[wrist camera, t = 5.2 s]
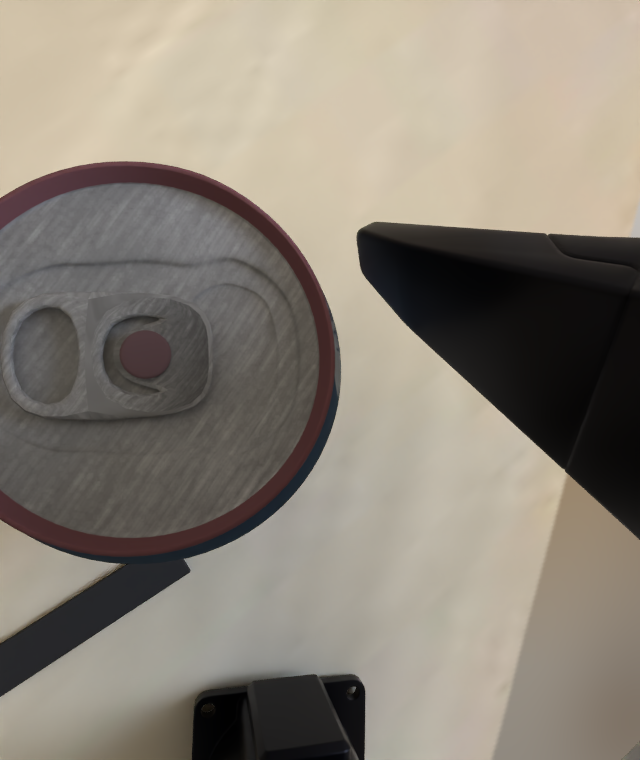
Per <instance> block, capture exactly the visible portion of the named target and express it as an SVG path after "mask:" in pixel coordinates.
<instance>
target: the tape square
mask: <svg viewBox="0 0 640 760" xmlns="http://www.w3.org/2000/svg"><path fill="white" fill-rule="evenodd" d="M189 572H190V569H189V567H188V566H187V564H186V562H185V561H184V559H180V560H175V561H169V562H162V563H151V564H126V565H125V566H123V567H121V568H120V569H118V570H117V571H115V572H113V573H112V574H110V575H109V576H107V577H106V578H104V579H102V580H101V581H99V582H98V583H96V584H94V585H93V586H91V587H90V588H88V589H87V590H85V591H83V592H82V593H80V594H79V595H77V596H75V597H74V598H72V599H71V600H69V601H67V602H66V603H64V604H63V605H61V606H60V607H58V608H56V609H55V610H53V611H52V612H50V613H48V614H47V615H45V616H44V617H42V618H41V619H39V620H37V621H36V622H34V623H33V624H31V625H29V626H28V627H26V628H25V629H23V630H22V631H20V632H18V633H17V634H15V635H14V636H12V637H10V638H9V639H7V640H6V641H4V642H2V643H1V644H0V697H1V696H2V695H4V694H5V693H7V692H8V691H10V690H11V689H13V688H14V687H16V686H17V685H19V684H20V683H22V682H23V681H25V680H27V679H28V678H30V677H31V676H33V675H34V674H36V673H37V672H39V671H40V670H42V669H43V668H45V667H46V666H48V665H49V664H51V663H52V662H54V661H55V660H57V659H58V658H60V657H61V656H63V655H65V654H66V653H68V652H69V651H71V650H72V649H74V648H75V647H77V646H78V645H80V644H81V643H83V642H84V641H86V640H87V639H89V638H90V637H92V636H93V635H95V634H96V633H98V632H99V631H101V630H103V629H104V628H106V627H107V626H109V625H110V624H112V623H113V622H115V621H116V620H118V619H119V618H121V617H122V616H124V615H125V614H127V613H128V612H130V611H131V610H133V609H134V608H136V607H137V606H139V605H141V604H142V603H144V602H145V601H147V600H148V599H150V598H151V597H153V596H154V595H156V594H157V593H159V592H160V591H162V590H163V589H165V588H166V587H168V586H169V585H171V584H172V583H174V582H175V581H177V580H179V579H180V578H182V577H183V576H185V575H186V574H188V573H189Z"/></svg>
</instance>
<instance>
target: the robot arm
mask: <svg viewBox="0 0 640 760" xmlns="http://www.w3.org/2000/svg"><path fill="white" fill-rule="evenodd" d="M357 246H358V254H359V261H360V267H361V271H362V273H363V275H364V276H365V278H366V279H367V280H368V281H369V282H370V284H371V285H372V286H373V287H374V288H375V289H376V291H377V292H378V293H379V294H380V295H381V296H382V298H383V299H384V300H385V301H386V302H387V303H388V305H389V306H390V307H391V308H392V309H393V310H394V312H395V313H396V314H397V315H398V316H399V317H400V319H401V320H402V321H403V322H404V323H405V324H406V325H407V326H408V327H409V328H410V329H411V330H412V331H413V332H414V333H415V334H416V335H418V336H419V337H420V338H421V339H422V340H423V341H424V342H425V343H426V344H427V345H428V346H430V347H431V348H432V349H433V350H434V351H435V352H436V353H437V354H438V355H439V356H440V357H441V358H443V359H444V360H445V361H446V362H447V363H448V364H449V365H450V366H451V367H452V368H453V369H455V370H456V371H457V372H458V373H459V374H460V375H461V376H462V377H463V378H464V379H465V380H467V381H468V382H469V383H470V384H471V385H472V386H473V387H474V388H475V389H476V390H477V391H479V392H480V393H481V394H482V395H483V396H484V397H485V398H486V399H487V400H488V401H489V402H491V403H492V404H493V405H494V406H495V407H496V408H497V409H498V410H499V411H500V412H501V413H503V414H504V415H505V416H506V417H507V418H508V419H509V420H510V421H511V422H512V423H513V424H515V425H516V426H517V427H518V428H519V429H520V430H521V431H522V432H523V433H524V434H525V435H526V436H528V437H529V438H530V439H531V440H532V441H533V442H534V443H535V444H536V445H537V446H538V447H540V448H541V449H542V450H543V451H544V452H545V453H546V454H547V455H548V456H549V457H550V458H552V459H553V460H554V461H555V462H556V463H557V464H558V465H559V466H560V467H561V468H563V469H565V472H566V473H567V474H569V475H570V476H571V477H572V478H573V479H574V480H575V481H576V482H577V483H578V484H579V485H581V486H582V487H583V488H584V489H585V490H586V491H587V492H588V493H589V494H590V495H591V496H593V497H594V498H595V499H596V500H597V501H598V502H599V503H600V504H601V505H602V506H604V507H605V508H606V509H607V510H608V511H609V512H610V513H612V515H613V516H614V517H615V518H617V519H618V520H619V521H620V522H621V523H622V524H623V525H625V527H626V528H628V529H629V530H630V531H631V532H632V533H633V534H634V535H635V536H636V537H637V538H639V540H640V238H629V237H596V236H577V235H561V234H549V235H548V236H547V235H546V234H545V233H531V232H517V231H502V230H488V229H473V228H459V227H444V226H430V225H415V224H401V223H386V222H374V223H371V224H369V225H367V226H365V227H363V228H361V229H360V230H359V231H358V232H357ZM353 686H354V687H356V690H355V691H354V693H352V694H347V691H348V689H349V688H350V687H353ZM208 703H209V704H213V705H214V708H213V709H212V710H211V711H209V712H205V711H203V710H202V707H203V706H204V705H205V704H208ZM364 752H365V687H364V685H363V684H362V682H361V680H360V679H359V677H357V676H356V675H341V676H332V677H323V678H319V677H318V676H317V675H315V674H313V675H303V676H294V677H285V678H276V679H267V680H258V681H253V682H252V683H251V684H250V685H249V686H242V687H233V688H224V689H215V690H208V691H205V692H202V693H201V694H200V695H199V696H198V697H197V699H196V700H195V704H194V719H193V744H192V760H364ZM622 760H640V742H639V743H638V744H637V745H636V746H635V747H634V748H633V749H632V750H631V751H630V752H629V753H628V754H627V755H626V756H625V757H624V758H623V759H622Z"/></svg>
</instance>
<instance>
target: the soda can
mask: <svg viewBox="0 0 640 760" xmlns="http://www.w3.org/2000/svg"><path fill="white" fill-rule="evenodd" d="M340 382H341V360H340V348H339V342H338V336H337V331H336V327H335V323H334V320H333V317H332V313H331V310H330V308H329V305H328V303H327V300H326V297H325V295H324V293H323V291H322V289H321V287H320V285H319V283H318V281H317V278H316V276H315V274H314V272H313V270H312V269H311V267H310V265H309V264H308V262H307V260H306V259H305V257H304V256H303V254H302V253H301V251H300V250H299V248H298V247H297V246H296V244H295V243H294V242H293V241H292V239H291V238H290V237H289V236H288V235H287V233H286V232H285V231H284V230H283V229H282V228H281V227H280V226H279V225H278V224H277V223H276V222H275V221H274V220H273V219H272V218H271V217H270V216H269V215H267V214H266V213H265V212H264V211H263V210H261V209H260V208H259V207H258V206H257V205H255V204H254V203H253V202H251V201H250V200H248V199H247V198H246V197H244V196H243V195H241V194H239V193H238V192H236V191H235V190H233V189H231V188H229V187H228V186H226V185H224V184H222V183H220V182H218V181H216V180H213V179H211V178H209V177H207V176H204V175H201V174H198V173H195V172H193V171H190V170H186V169H182V168H178V167H174V166H168V165H162V164H155V163H146V162H128V161H125V162H103V163H93V164H87V165H81V166H76V167H72V168H68V169H64V170H60V171H57V172H54V173H51V174H48V175H45V176H42V177H40V178H38V179H35V180H33V181H30V182H28V183H26V184H24V185H22V186H20V187H18V188H16V189H15V190H13V191H11V192H10V193H8V194H6V195H5V196H3V197H1V198H0V520H2V521H4V522H5V523H7V524H8V525H10V526H11V527H13V528H15V529H17V530H19V531H21V532H23V533H24V534H26V535H28V536H30V537H32V538H33V539H35V540H37V541H39V542H41V543H43V544H45V545H48V546H50V547H52V548H55V549H57V550H60V551H63V552H66V553H69V554H72V555H75V556H78V557H82V558H87V559H91V560H96V561H102V562H108V563H120V564H151V563H162V562H169V561H175V560H180V559H184V558H189V557H192V556H196V555H199V554H202V553H206V552H208V551H211V550H214V549H216V548H219V547H221V546H223V545H225V544H228V543H230V542H232V541H234V540H236V539H238V538H239V537H241V536H243V535H245V534H246V533H248V532H250V531H251V530H253V529H254V528H256V527H257V526H259V525H260V524H261V523H263V522H264V521H265V520H267V519H268V518H269V517H270V516H272V515H273V514H274V513H275V512H276V511H277V510H278V509H279V508H281V507H282V506H283V505H284V504H285V503H286V502H287V501H288V500H289V499H290V497H291V496H292V495H293V494H294V493H295V492H296V491H297V489H298V488H299V487H300V486H301V485H302V483H303V482H304V481H305V479H306V478H307V476H308V475H309V473H310V472H311V471H312V469H313V467H314V465H315V464H316V462H317V460H318V459H319V457H320V455H321V453H322V451H323V449H324V446H325V444H326V442H327V439H328V437H329V434H330V432H331V428H332V425H333V422H334V419H335V415H336V410H337V406H338V400H339V393H340Z"/></svg>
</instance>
